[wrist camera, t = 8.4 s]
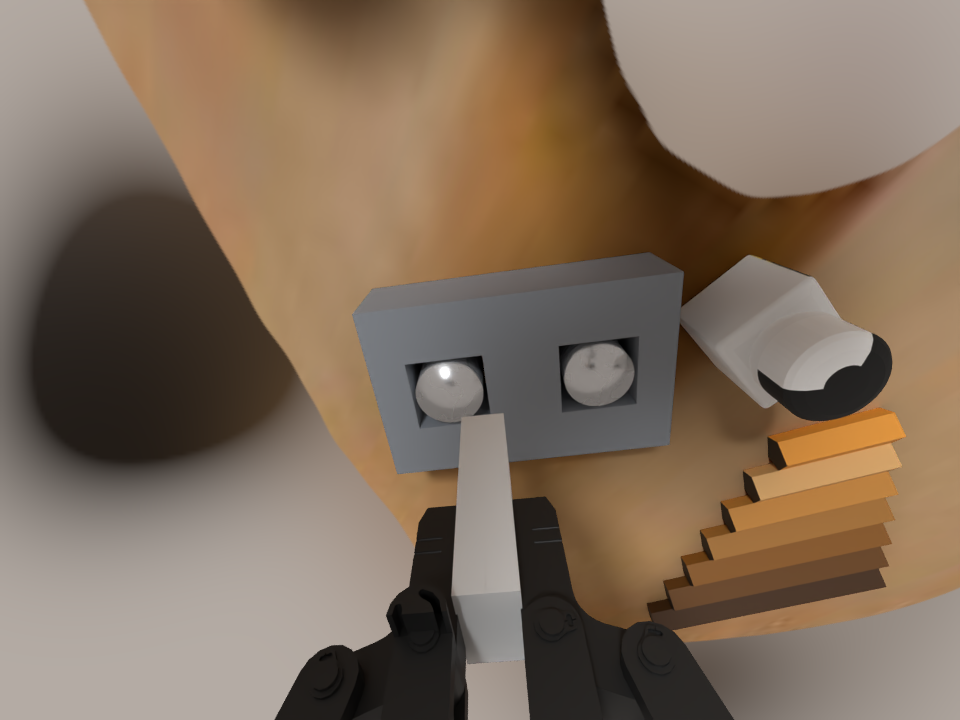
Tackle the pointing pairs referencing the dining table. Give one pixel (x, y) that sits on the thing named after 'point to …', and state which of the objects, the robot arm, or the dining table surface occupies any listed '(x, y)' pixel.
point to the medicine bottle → (786, 341)
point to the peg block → (527, 355)
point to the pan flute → (795, 526)
